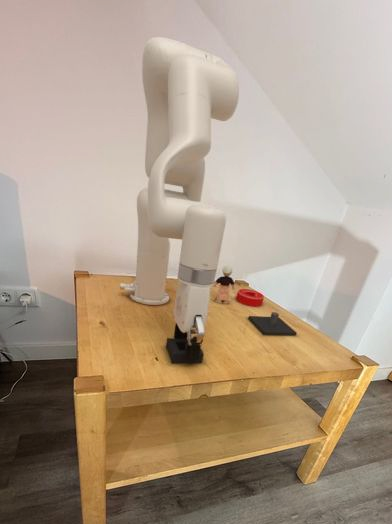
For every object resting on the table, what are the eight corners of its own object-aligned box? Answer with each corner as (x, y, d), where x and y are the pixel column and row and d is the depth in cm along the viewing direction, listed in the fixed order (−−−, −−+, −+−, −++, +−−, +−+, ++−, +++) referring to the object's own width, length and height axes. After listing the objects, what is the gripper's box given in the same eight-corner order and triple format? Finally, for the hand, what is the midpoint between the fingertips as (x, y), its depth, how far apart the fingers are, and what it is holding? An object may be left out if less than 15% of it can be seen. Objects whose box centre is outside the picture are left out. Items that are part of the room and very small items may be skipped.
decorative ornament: (232, 295, 112) (234, 287, 111) (256, 297, 115) (258, 289, 113) (240, 305, 104) (243, 296, 103) (265, 307, 107) (268, 299, 105)
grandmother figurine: (228, 299, 107) (235, 264, 101) (232, 304, 104) (241, 268, 98) (208, 299, 104) (215, 263, 98) (212, 303, 101) (220, 266, 95)
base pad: (263, 335, 86) (267, 321, 83) (247, 318, 95) (251, 305, 92) (295, 335, 89) (300, 322, 87) (277, 319, 98) (281, 307, 96)
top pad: (171, 363, 65) (173, 353, 64) (165, 347, 71) (167, 338, 69) (202, 363, 67) (203, 353, 66) (193, 347, 73) (195, 338, 72)
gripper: (169, 261, 65) (162, 331, 73) (189, 287, 51) (177, 370, 59) (202, 264, 68) (191, 331, 76) (229, 289, 53) (212, 369, 62)
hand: (185, 348), depth 67 cm, fingers open, 9 cm apart
